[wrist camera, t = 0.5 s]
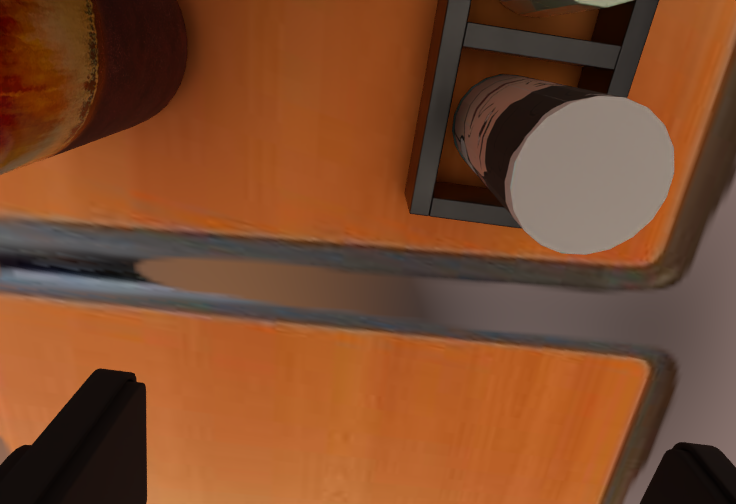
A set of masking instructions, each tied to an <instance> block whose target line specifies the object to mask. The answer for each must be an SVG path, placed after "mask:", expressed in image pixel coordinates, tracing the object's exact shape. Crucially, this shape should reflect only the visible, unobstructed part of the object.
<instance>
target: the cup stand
mask: <svg viewBox="0 0 736 504" xmlns="http://www.w3.org/2000/svg"><path fill="white" fill-rule="evenodd" d="M658 2H659V0H633V1H630V2H626V3H623V4H619V5H615V6H612V7H608V8H602V9H600V11H599V15H598V18H597V22H596V25H595V29H594V32H593V36H592V39H591V41H587V40H581V39H574V38H568V37H561V36H555V35H549V34H542V33H536V32H529V31H523V30H517V29H510V28H504V27H497V26H491V25H484V24H478V23H472V22H467V20H468V15H469V10H470V5H471V0H438V5H437V10H436V16H435V22H434V28H433V33H432V39H431V45H430V51H429V56H428V62H427V68H426V74H425V79H424V85H423V91H422V97H421V102H420V108H419V114H418V120H417V125H416V131H415V137H414V143H413V148H412V154H411V160H410V166H409V171H408V177H407V183H406V189H405V197H406V201H407V205H408V209H409V213H410V214H416V215H424V216H431V217H439V218H446V219H454V220H461V221H469V222H477V223H484V224H492V225H499V226H507V227H514V228H522V227H521V226H520V225H519V224H518V223H517V221H516V220H515V219H514V218H513V217H512V216H511V214H510V213H509V212H508V211H507V210H506V208H505V207H504V206H503V205H502V204H501V203H500V201H499V200H498V199H497V198H496V197H495V196H494V194H493V193H492V192H491V191H490V190H489V189H488V188H481V187H473V186H466V185H459V184H451V183H444V182H437V181H436V178H437V173H438V168H439V162H440V157H441V152H442V147H443V142H444V137H445V132H446V127H447V122H448V117H449V112H450V107H451V102H452V96H453V91H454V86H455V81H456V76H457V71H458V66H459V61H460V56H461V51H462V48H465V49H472V50H478V51H485V52H491V53H498V54H504V55H511V56H517V57H524V58H530V59H537V60H544V61H550V62H557V63H563V64H570V65H576V66H583V70H582V74H581V77H580V81H579V84H578V88H581V89H586V90H591V91H596V92H600V93H605V94H610V95H615V96H620V97H625V98H627V97H628V94H629V91H630V88H631V85H632V81H633V78H634V75H635V72H636V69H637V66H638V63H639V60H640V57H641V54H642V51H643V48H644V45H645V42H646V39H647V36H648V33H649V30H650V26H651V23H652V20H653V17H654V14H655V11H656V8H657V5H658ZM522 229H523V228H522Z"/></svg>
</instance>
